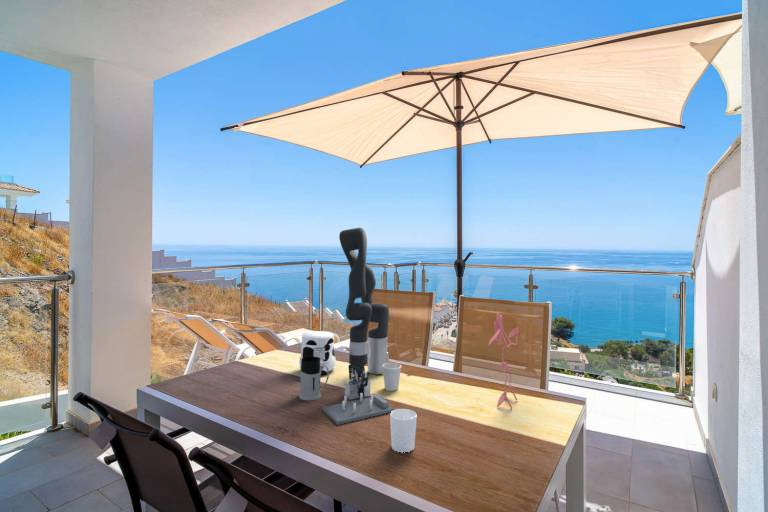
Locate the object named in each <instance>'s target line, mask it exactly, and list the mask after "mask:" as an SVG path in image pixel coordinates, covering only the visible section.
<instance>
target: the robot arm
mask: <svg viewBox="0 0 768 512" xmlns="http://www.w3.org/2000/svg"><path fill="white" fill-rule="evenodd" d="M338 237H339V243H340V246H341V248H342V251H343V253H344V255H345V258H346V260H347V262H348V265H349V267H350V272H349V275H348V300H347V304H346V307H345V317H346V319H347V320H348V321H352V322H353V321H361V322H360V323H359V324H357V325H353V326H351V327H350V328H349V346H348V347H349V348H348V376H349V380H350V381H356V380H357V382H358V385H359V394H358V395H359V396H360V393H363V396H364V387H366V386H367V385H368V381H369V376H370V375H369V374H370V373H372V374H371V375H374V374H381V375H383V367H382V365H383V364H385V363H390V359H389V356H390V354H389V352H388V333H389V332H388V331H389V319H390V318H389V317H390V309H389V306H388V305H387V304H384V303H374V302H373V299H372V295H373V292H374V291H375V288H376V283H377V281H376V277H375V274H374V271H373V268H371V266H370V265H369V264H367V253H368V251H367V248H368V239H367V233H366V230H365V229H364V228H363V227H355V228H350V229H344V230H341V231H340V232H339V236H338ZM357 250H358V253H357V254H356V252H355V251H357ZM357 299H360V300H361V302H355V301H356V300H357ZM370 323H375V324H378V325H377V327H376V328H373V329H369V325H370ZM368 329H369V330H368ZM366 365H367V372H366V368H365V366H366ZM368 372H369V373H368ZM360 381H361V383H360Z"/></svg>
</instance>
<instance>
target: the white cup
mask: <svg viewBox="0 0 768 512" xmlns="http://www.w3.org/2000/svg"><path fill="white" fill-rule="evenodd" d="M389 416H390V417H389V418H390V419H389V423H390V424H389V425H390V426H389V427H390V439H391V449H392V450H393V451H394V452H396V451H397V452H396V453H399V452H401V454H406V453H405V452H408V453H411V452H412V451H411V450H413V451H414V449H415V445H416V444H415V441H416V432H417V413H416V411H415V410H412V409H408V408H396V409H394V410H393V411H392V412H391V413H389ZM410 451H411V452H410ZM403 452H404V453H403Z"/></svg>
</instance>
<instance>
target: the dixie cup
mask: <svg viewBox="0 0 768 512" xmlns="http://www.w3.org/2000/svg"><path fill="white" fill-rule="evenodd" d="M382 367H383V374H382V375H383V383H384V390H385V389H386V390H385V391H387V390H390V391H389V392H394V391H393V390H396V391H398V390H399V386H400V377H401V370H402V367H403V366H402V365H401V364H400V363H397V362H389V363H385V364H383V365H382ZM397 389H398V390H397Z"/></svg>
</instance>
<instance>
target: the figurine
mask: <svg viewBox="0 0 768 512" xmlns="http://www.w3.org/2000/svg"><path fill="white" fill-rule="evenodd" d="M495 318H496V319H495V320H494V321H493V329H494V334H493V336H492V337H491V339H490V340H489V342H488V346H490V345H491V344H492V343H494V341H495V342H498V346H501V343H502V338H503V341H504V344H505V346H503V347H502V349H501V355H502V357H501V359H502V361H501V362H500V367H501V369H502V370H503V373H504V375H505V381H504V388H503V389H504V390H503V393H501V395H500V397H499V398H498V401H497V405H496V408H499V407H500V406H501V405H502V404H503V403H504V401H505V400H506V401H507V403H508V405H509V407H511V408H513V406H512V404H511V402H510V400H509V398H508V396H507V394H508V392H509V391H511V393H512V395H513V396H514V399H515V401H516V400H518V398H517V396H516V394H515V392H514V390H513V388H512V387H513V385H512V384H508V385H509V386H508V388H507V389H506V387H507V386H506V385H507V380H508V376H507V373H506V371H505V370H506V369H509V383H511V382H512V381H511V379H512V378H511V377H512V368H511V367H509V365H508V363H507V362H506V361H505V360H504V356H505V355H504V352H505V351H504V350H505V348H507V349H509V348H510V346H512V345H514V346H517V345H518V341H519V340H518V339H519V331H520V326H517V327H515V328H513V329H512V330H511V331H510V332H509V334H507V333H506V330H505V328H504V325H503V314H500V313H499V312H496V317H495ZM504 335H505V336H506V338H505V336H504ZM515 335H516V339H515V343H514V342H512V341H511V340H510V338H512V337H514V336H515ZM506 339H507V340H508V342H509V343H507V341H506ZM511 408H510V409H511Z"/></svg>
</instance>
